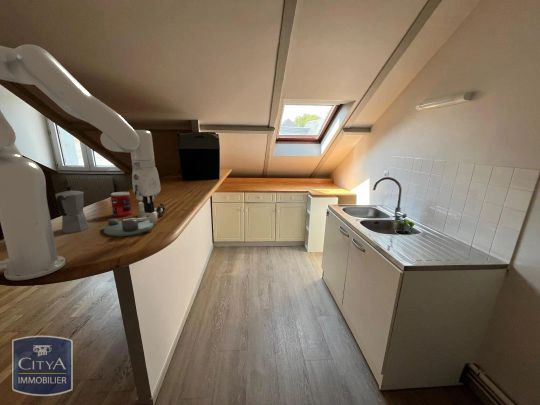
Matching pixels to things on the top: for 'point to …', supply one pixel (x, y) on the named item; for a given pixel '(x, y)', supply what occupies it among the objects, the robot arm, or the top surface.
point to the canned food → (121, 204)
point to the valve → (159, 209)
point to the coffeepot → (72, 210)
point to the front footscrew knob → (132, 223)
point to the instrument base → (116, 230)
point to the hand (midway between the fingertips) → (149, 212)
